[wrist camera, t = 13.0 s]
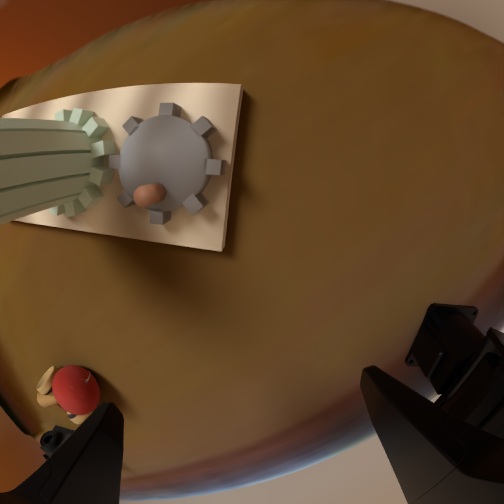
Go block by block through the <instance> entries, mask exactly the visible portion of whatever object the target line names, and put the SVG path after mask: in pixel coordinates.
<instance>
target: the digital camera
mask: <svg viewBox="0 0 504 504" xmlns="http://www.w3.org/2000/svg"><path fill="white" fill-rule="evenodd" d="M73 432H74V431H73V430H70V429H67V428H63V427H60V426H55V427H54V428H53V430H52V431H47V432H46V433H44V434H43V435H42V437H41V439H40V444H41V445H42V446H41V447H40V448H41V449H42V450H43V451H44V452H45V453H46V454H47V455H48V456H49V457H51V455H52V454H53V453H54V452H55V451H56V450H57V449H58V448H59V447H60V446H61V445H62V444H63V443H64V442H65V441H66V440H67V439H68V438H69V437H70V436H71V434H72V433H73Z"/></svg>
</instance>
